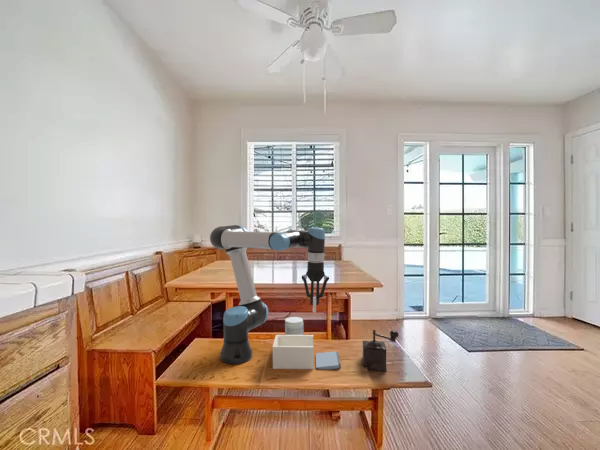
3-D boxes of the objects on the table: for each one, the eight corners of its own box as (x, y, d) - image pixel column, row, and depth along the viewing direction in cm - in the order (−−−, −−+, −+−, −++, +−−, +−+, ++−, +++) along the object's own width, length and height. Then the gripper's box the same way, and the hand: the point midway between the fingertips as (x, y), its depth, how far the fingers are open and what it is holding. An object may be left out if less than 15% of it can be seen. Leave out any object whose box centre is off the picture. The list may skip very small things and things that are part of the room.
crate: (272, 371, 147) (272, 346, 147) (276, 357, 161) (275, 334, 161) (313, 371, 147) (313, 347, 146) (313, 357, 161) (313, 335, 160)
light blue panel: (316, 367, 146) (340, 364, 146) (315, 353, 160) (337, 350, 160) (316, 371, 147) (341, 368, 146) (316, 356, 161) (338, 354, 160)
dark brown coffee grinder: (362, 370, 147) (362, 330, 146) (361, 359, 158) (362, 322, 157) (398, 373, 145) (399, 332, 144) (395, 361, 156) (396, 323, 155)
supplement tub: (307, 348, 170) (307, 320, 170) (291, 353, 165) (291, 324, 164) (297, 342, 178) (296, 315, 178) (281, 346, 173) (281, 318, 172)
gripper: (301, 262, 149) (300, 313, 151) (330, 263, 149) (328, 314, 150) (301, 259, 156) (300, 308, 158) (329, 260, 156) (327, 309, 158)
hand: (314, 311), depth 154 cm, fingers closed
